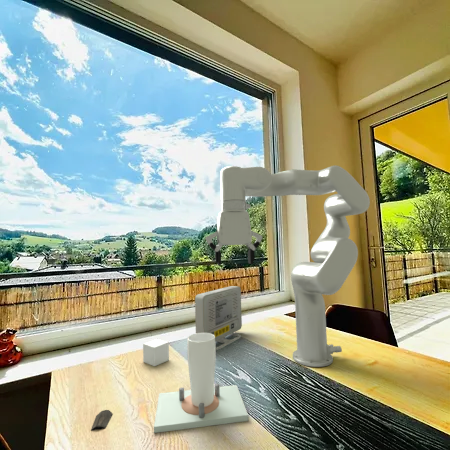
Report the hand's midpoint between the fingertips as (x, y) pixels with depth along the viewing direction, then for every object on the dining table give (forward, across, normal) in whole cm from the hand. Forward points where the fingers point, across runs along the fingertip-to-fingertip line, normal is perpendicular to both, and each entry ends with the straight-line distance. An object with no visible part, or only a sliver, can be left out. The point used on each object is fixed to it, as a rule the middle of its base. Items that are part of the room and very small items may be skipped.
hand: (235, 264), depth 82 cm
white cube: (+33, +25, -16) cm, 44 cm away
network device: (+32, +1, -30) cm, 44 cm away
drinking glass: (+31, +11, +14) cm, 36 cm away
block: (+33, +34, +14) cm, 49 cm away
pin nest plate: (+32, +12, +14) cm, 37 cm away
